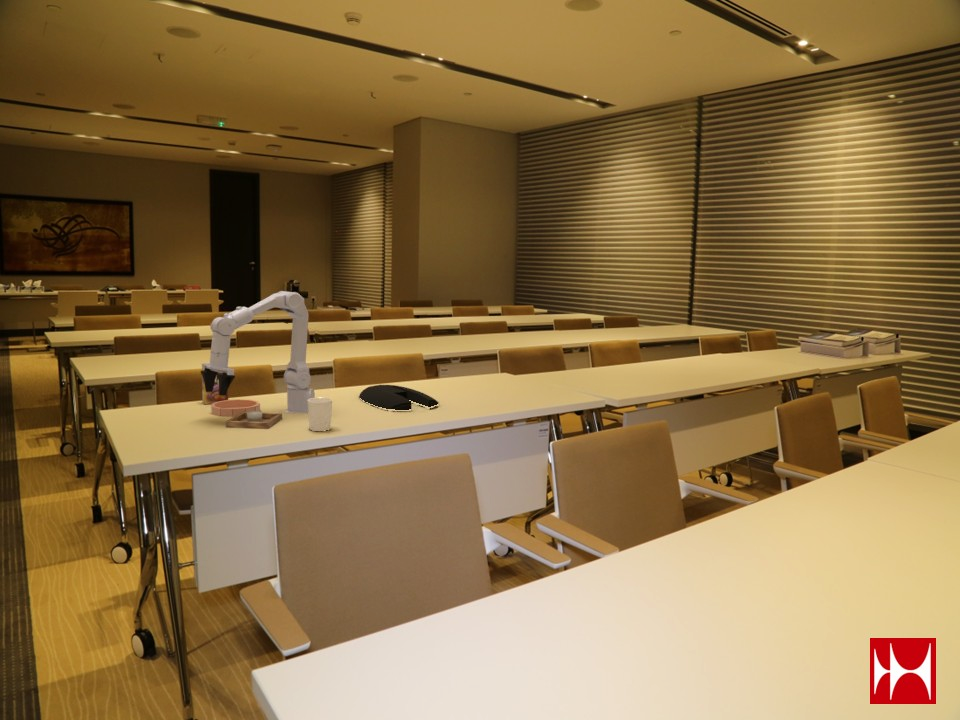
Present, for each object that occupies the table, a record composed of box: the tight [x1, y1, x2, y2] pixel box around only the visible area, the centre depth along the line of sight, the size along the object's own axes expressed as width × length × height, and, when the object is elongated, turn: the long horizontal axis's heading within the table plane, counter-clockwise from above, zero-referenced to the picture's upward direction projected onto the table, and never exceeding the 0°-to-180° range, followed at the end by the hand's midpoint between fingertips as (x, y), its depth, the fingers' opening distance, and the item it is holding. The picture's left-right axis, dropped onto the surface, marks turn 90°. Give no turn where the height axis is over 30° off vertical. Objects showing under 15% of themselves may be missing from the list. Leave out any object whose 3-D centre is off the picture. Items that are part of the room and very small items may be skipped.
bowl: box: [210, 398, 261, 418], centre depth 242 cm, size 16×16×3 cm
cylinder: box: [247, 410, 263, 422], centre depth 226 cm, size 5×5×4 cm
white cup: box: [307, 397, 333, 432], centre depth 222 cm, size 8×8×10 cm
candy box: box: [201, 363, 229, 405], centre depth 257 cm, size 9×4×15 cm, turn 123°
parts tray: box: [225, 412, 283, 430], centre depth 226 cm, size 14×14×2 cm
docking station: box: [358, 384, 439, 410], centre depth 270 cm, size 25×40×5 cm, turn 34°
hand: (215, 393), depth 225 cm, fingers open, 7 cm apart
